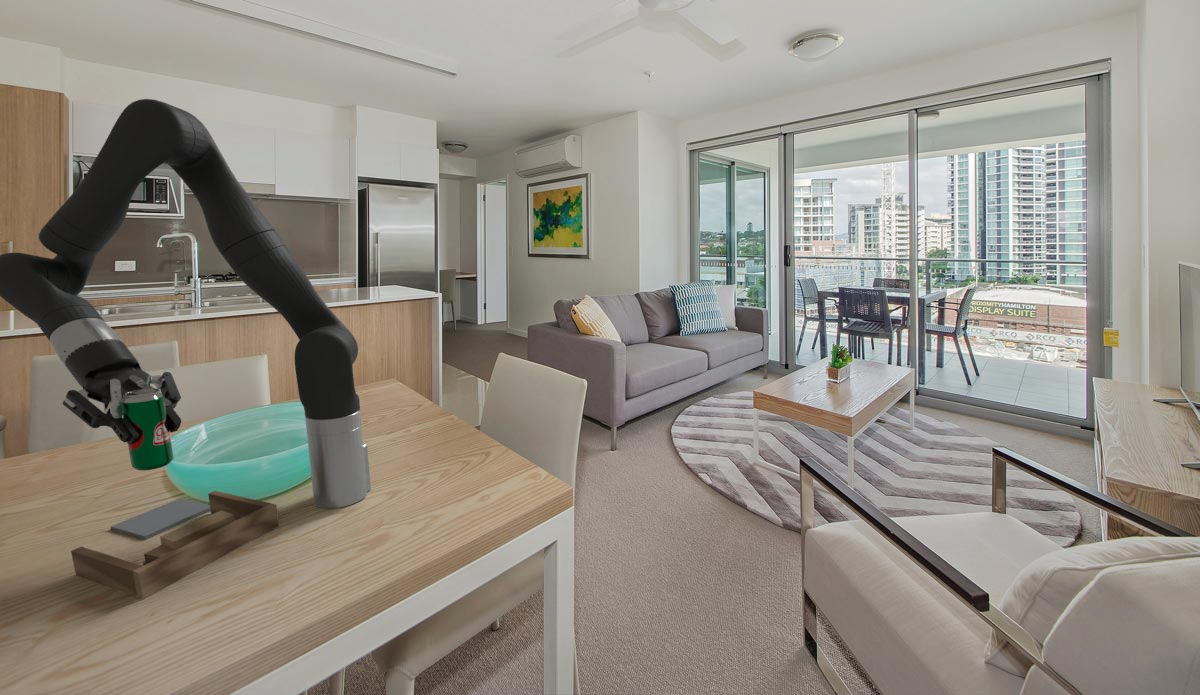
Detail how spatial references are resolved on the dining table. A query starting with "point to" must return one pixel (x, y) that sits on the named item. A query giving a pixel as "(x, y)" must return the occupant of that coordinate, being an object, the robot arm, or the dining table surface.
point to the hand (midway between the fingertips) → (156, 434)
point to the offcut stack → (189, 534)
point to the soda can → (148, 428)
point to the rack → (180, 550)
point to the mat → (161, 518)
